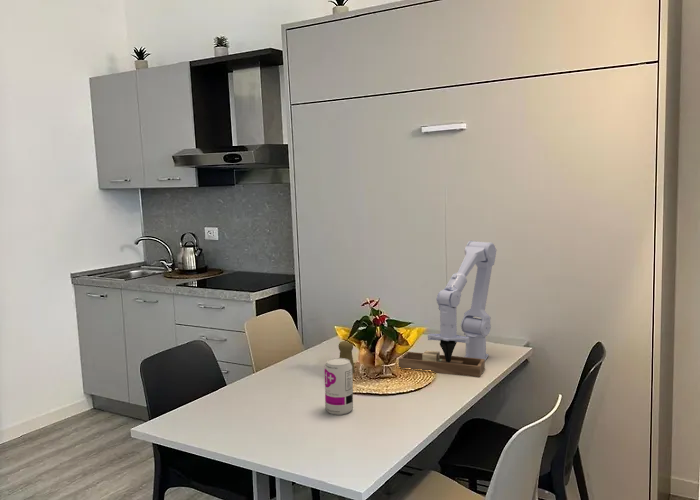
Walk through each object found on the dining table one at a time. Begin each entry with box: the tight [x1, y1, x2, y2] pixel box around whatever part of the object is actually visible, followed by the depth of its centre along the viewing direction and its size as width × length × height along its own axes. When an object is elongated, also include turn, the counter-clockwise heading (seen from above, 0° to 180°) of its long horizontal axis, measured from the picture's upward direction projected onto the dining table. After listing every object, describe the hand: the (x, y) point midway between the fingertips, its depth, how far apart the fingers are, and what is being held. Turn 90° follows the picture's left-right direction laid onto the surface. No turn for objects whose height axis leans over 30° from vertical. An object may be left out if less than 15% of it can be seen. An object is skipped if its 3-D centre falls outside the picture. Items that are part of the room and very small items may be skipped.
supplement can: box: [324, 357, 354, 416], centre depth 185 cm, size 8×8×15 cm
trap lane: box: [398, 351, 486, 378], centre depth 222 cm, size 9×29×4 cm, turn 67°
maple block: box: [422, 350, 441, 362], centre depth 223 cm, size 5×5×3 cm
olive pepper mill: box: [338, 340, 356, 375], centre depth 221 cm, size 6×6×11 cm
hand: (448, 361), depth 221 cm, fingers closed
